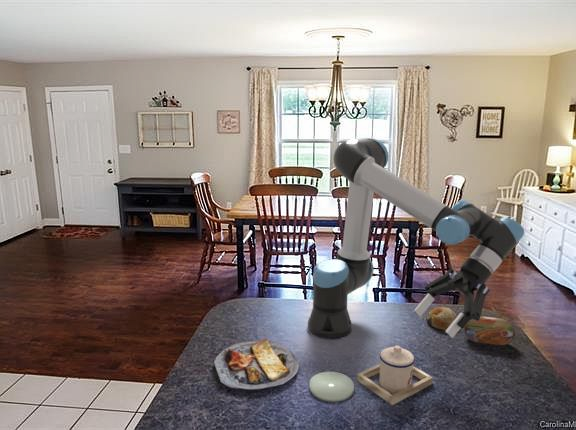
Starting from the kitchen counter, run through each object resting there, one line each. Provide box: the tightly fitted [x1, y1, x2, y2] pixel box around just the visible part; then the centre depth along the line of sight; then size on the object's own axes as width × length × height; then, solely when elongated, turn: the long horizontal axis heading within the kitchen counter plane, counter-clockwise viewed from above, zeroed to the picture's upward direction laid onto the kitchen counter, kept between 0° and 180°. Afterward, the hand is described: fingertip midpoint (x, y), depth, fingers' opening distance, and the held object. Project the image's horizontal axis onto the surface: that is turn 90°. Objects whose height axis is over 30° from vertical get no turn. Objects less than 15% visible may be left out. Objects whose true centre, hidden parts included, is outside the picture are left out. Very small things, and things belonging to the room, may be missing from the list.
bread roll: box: [425, 306, 458, 331], centre depth 153 cm, size 10×10×8 cm
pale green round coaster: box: [309, 371, 355, 403], centre depth 118 cm, size 12×12×1 cm
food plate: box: [213, 338, 300, 390], centre depth 127 cm, size 25×23×4 cm
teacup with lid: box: [378, 345, 415, 395], centre depth 119 cm, size 12×9×12 cm
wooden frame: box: [356, 363, 434, 406], centre depth 120 cm, size 13×16×2 cm
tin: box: [463, 315, 516, 346], centre depth 141 cm, size 15×3×8 cm, turn 73°
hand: (432, 323), depth 120 cm, fingers open, 13 cm apart
